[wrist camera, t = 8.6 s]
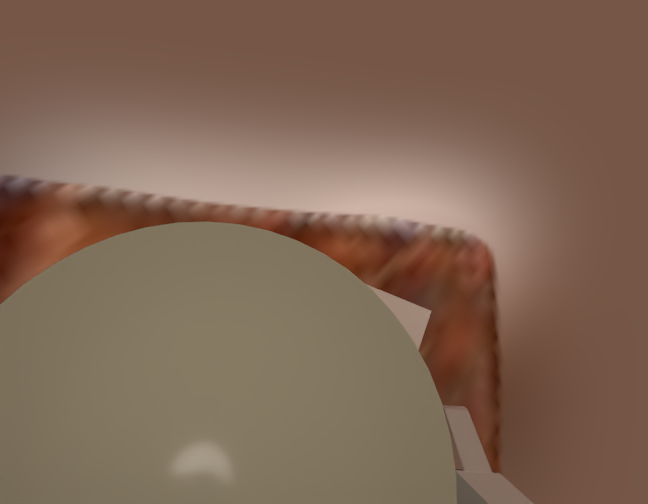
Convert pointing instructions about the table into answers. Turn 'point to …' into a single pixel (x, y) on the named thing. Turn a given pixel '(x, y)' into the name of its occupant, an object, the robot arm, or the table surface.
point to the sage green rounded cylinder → (213, 379)
